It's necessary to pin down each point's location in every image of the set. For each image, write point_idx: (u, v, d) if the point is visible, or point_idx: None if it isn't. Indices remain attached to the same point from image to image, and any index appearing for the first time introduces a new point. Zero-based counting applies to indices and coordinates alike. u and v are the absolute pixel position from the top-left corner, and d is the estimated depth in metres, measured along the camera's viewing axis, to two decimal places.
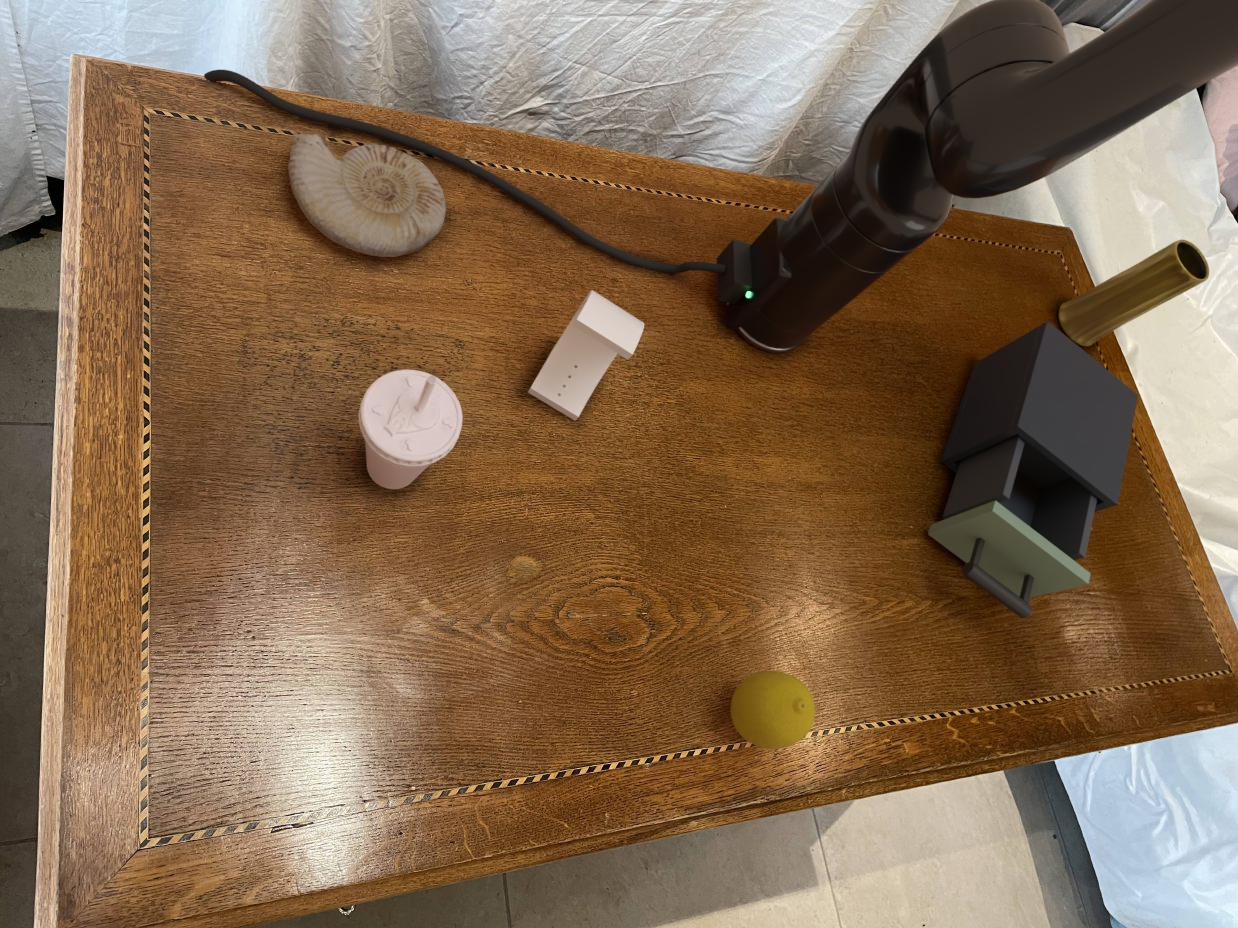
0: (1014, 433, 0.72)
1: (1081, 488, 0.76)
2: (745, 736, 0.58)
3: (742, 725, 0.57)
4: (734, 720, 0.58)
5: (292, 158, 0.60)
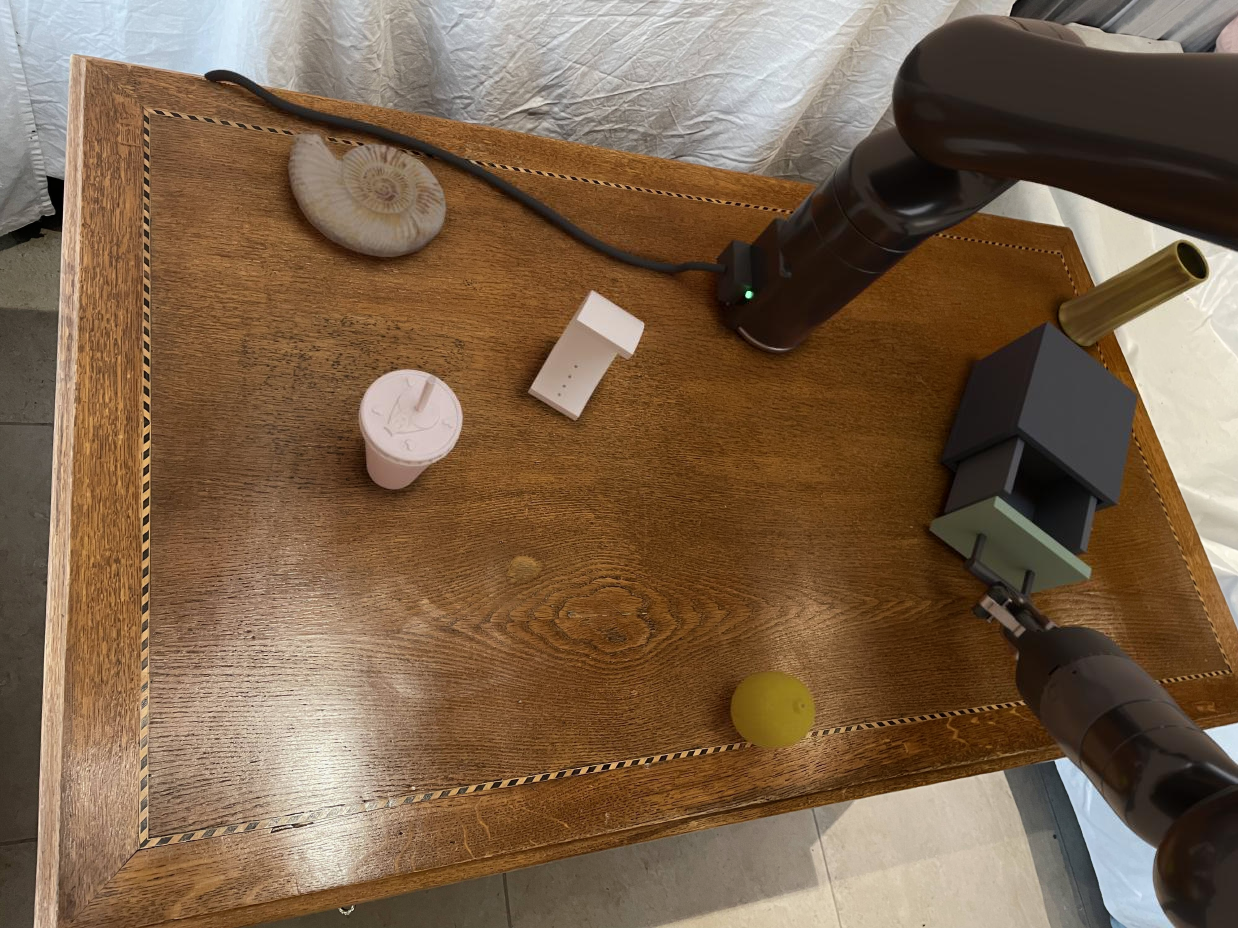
0: (1014, 433, 0.72)
1: None
2: (745, 736, 0.58)
3: (742, 724, 0.57)
4: (734, 720, 0.58)
5: (292, 158, 0.60)
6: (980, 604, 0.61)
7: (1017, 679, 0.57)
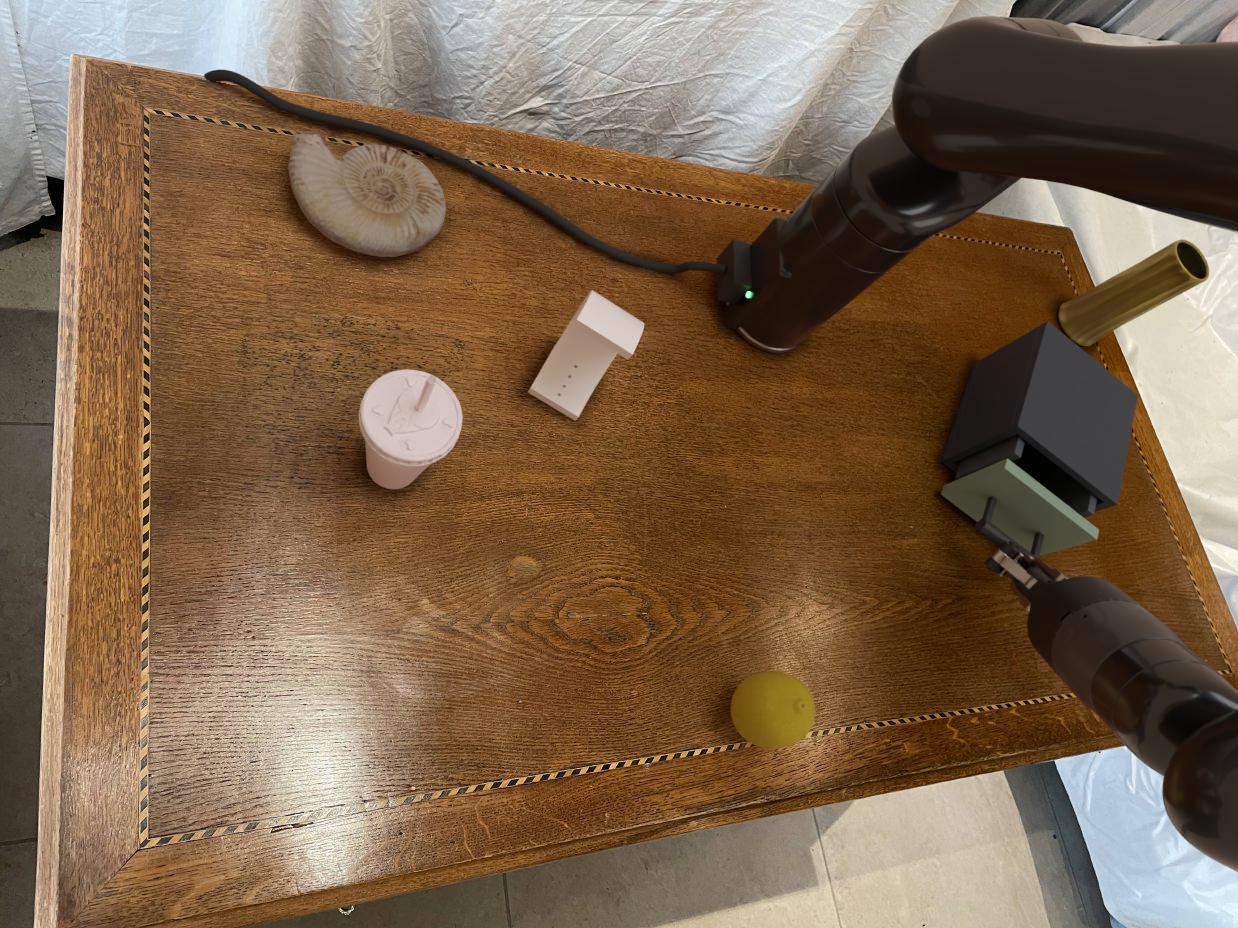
0: (1014, 433, 0.72)
1: None
2: (745, 736, 0.58)
3: (742, 725, 0.57)
4: (734, 720, 0.58)
5: (292, 158, 0.60)
6: (992, 558, 0.63)
7: (1029, 628, 0.59)
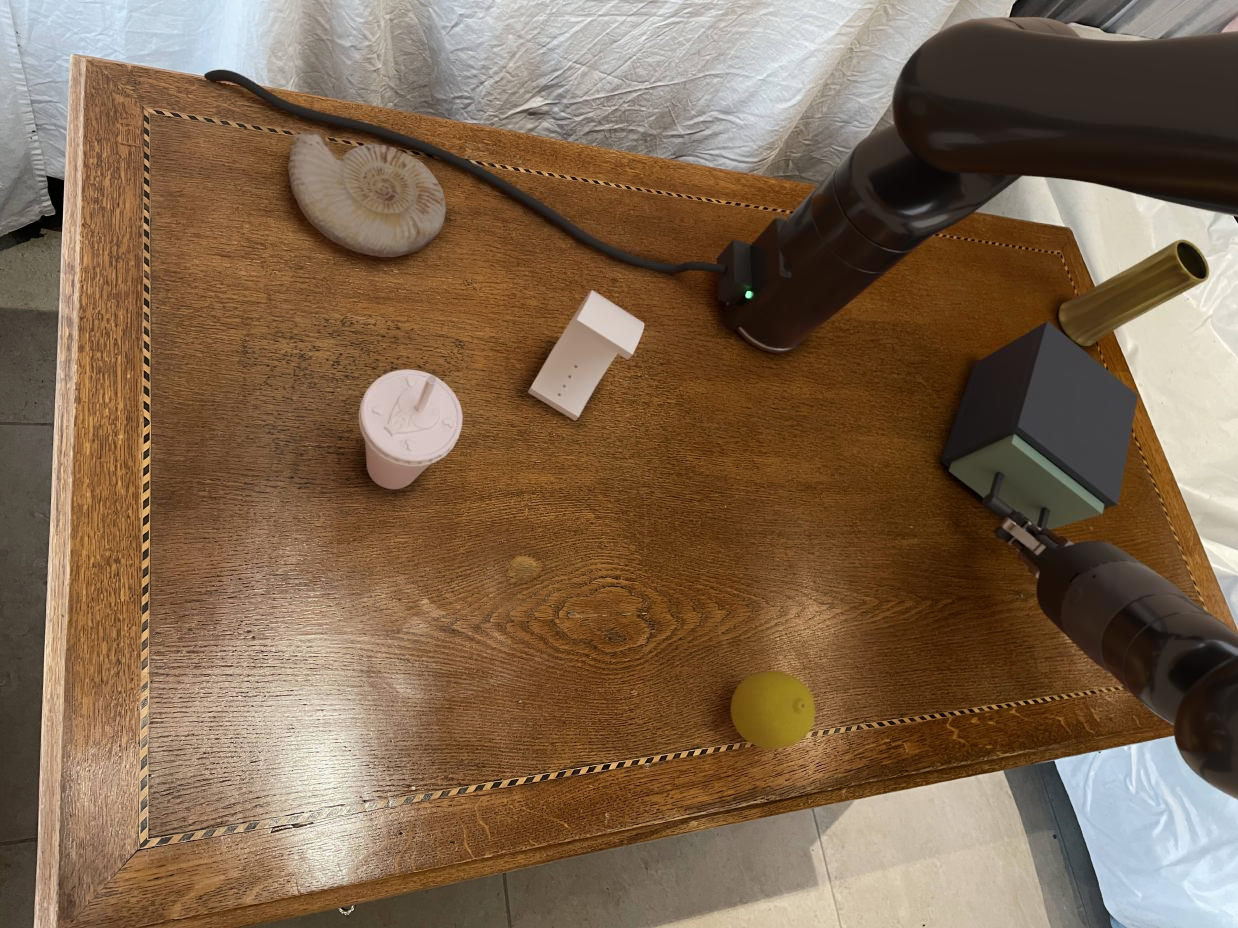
0: (1014, 433, 0.72)
1: None
2: (745, 736, 0.58)
3: (742, 725, 0.57)
4: (734, 720, 0.58)
5: (292, 158, 0.60)
6: (1001, 526, 0.64)
7: (1038, 592, 0.61)
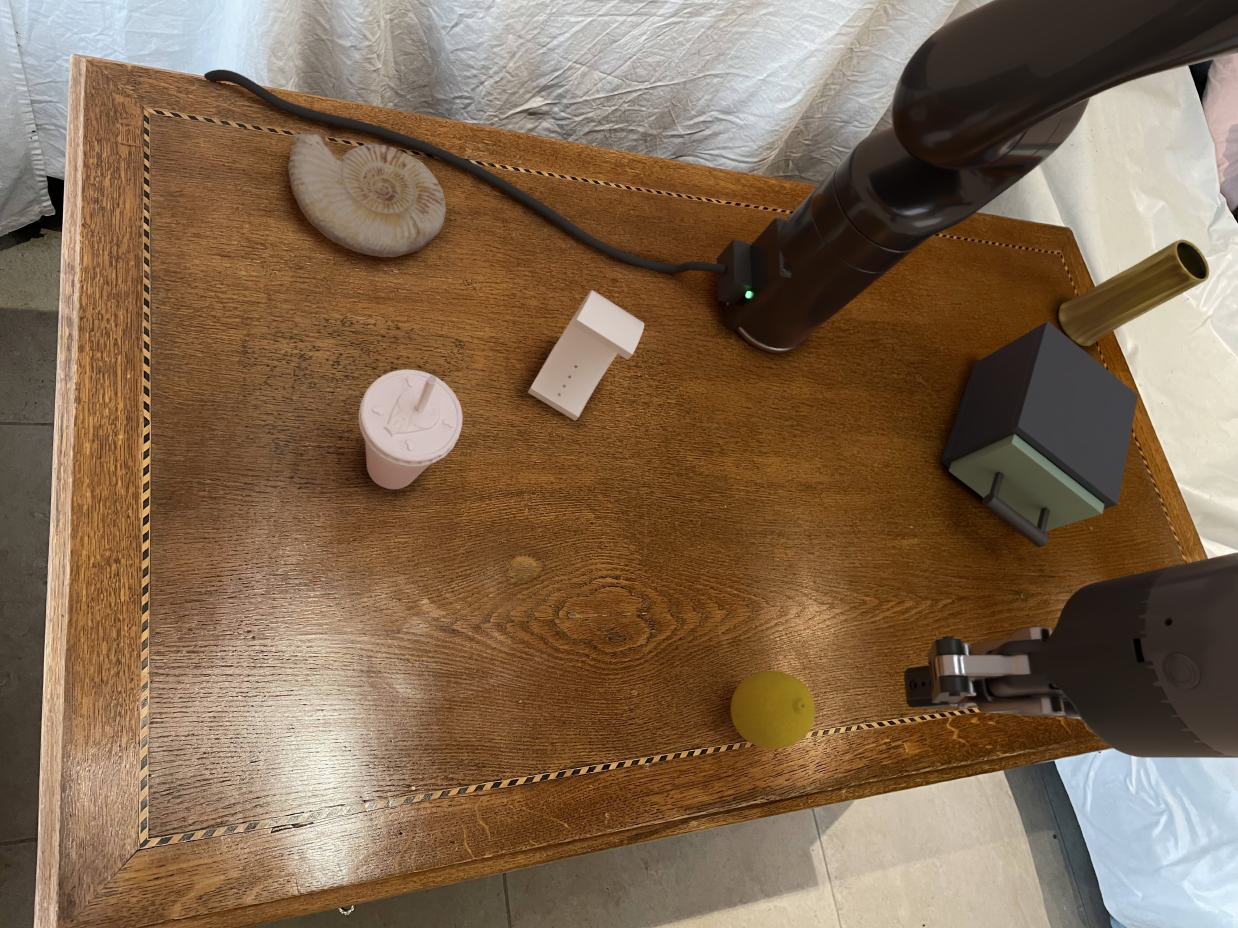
0: (1014, 433, 0.72)
1: None
2: (745, 736, 0.58)
3: (742, 724, 0.57)
4: (734, 720, 0.58)
5: (292, 158, 0.60)
6: (947, 674, 0.36)
7: (1097, 724, 0.32)
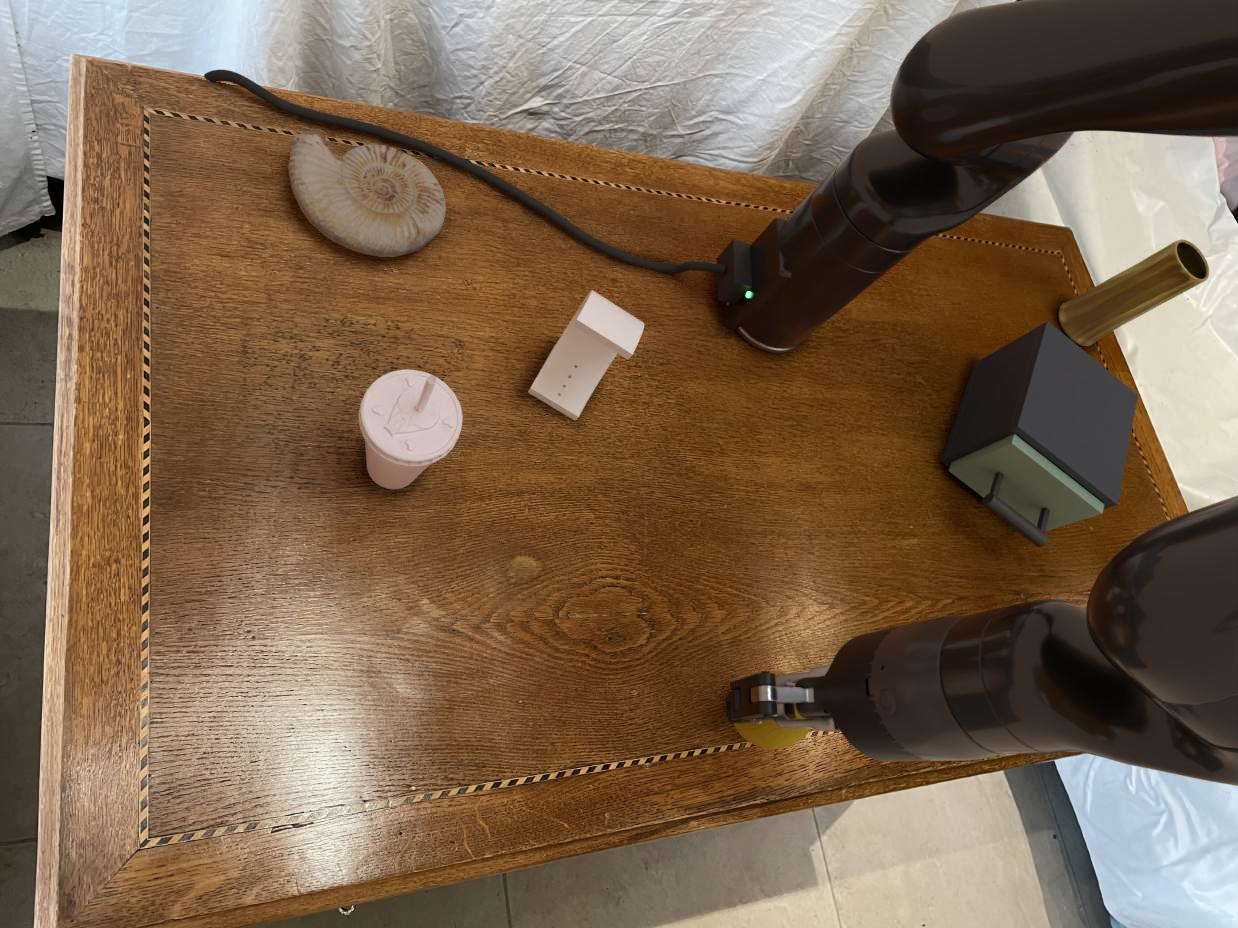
0: (1014, 433, 0.72)
1: None
2: (745, 736, 0.58)
3: (742, 724, 0.57)
4: None
5: (292, 158, 0.60)
6: (766, 700, 0.48)
7: (851, 738, 0.46)
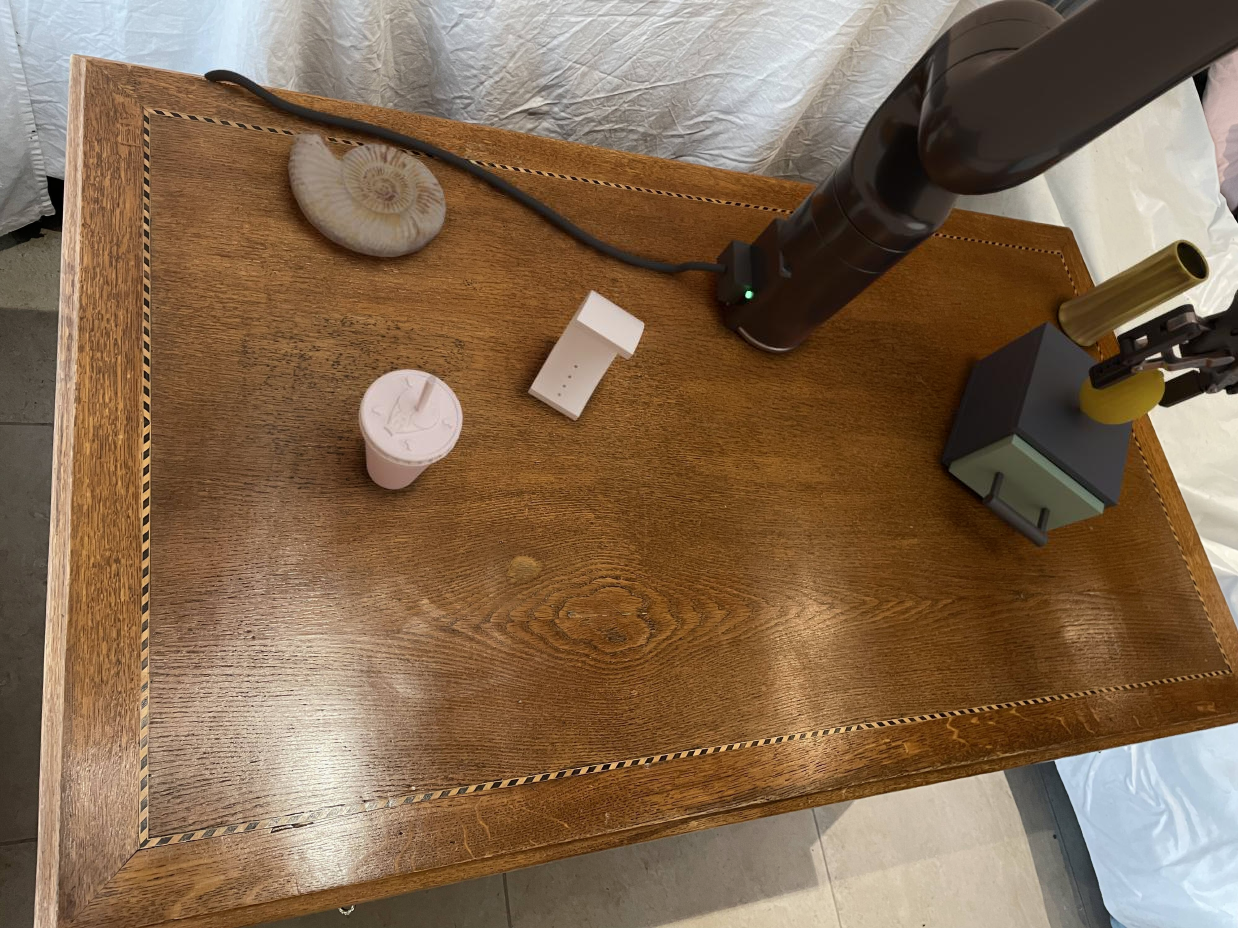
0: (1014, 433, 0.72)
1: None
2: (1102, 411, 0.72)
3: (1102, 399, 0.71)
4: (1090, 401, 0.72)
5: (292, 158, 0.60)
6: (1194, 322, 0.61)
7: None
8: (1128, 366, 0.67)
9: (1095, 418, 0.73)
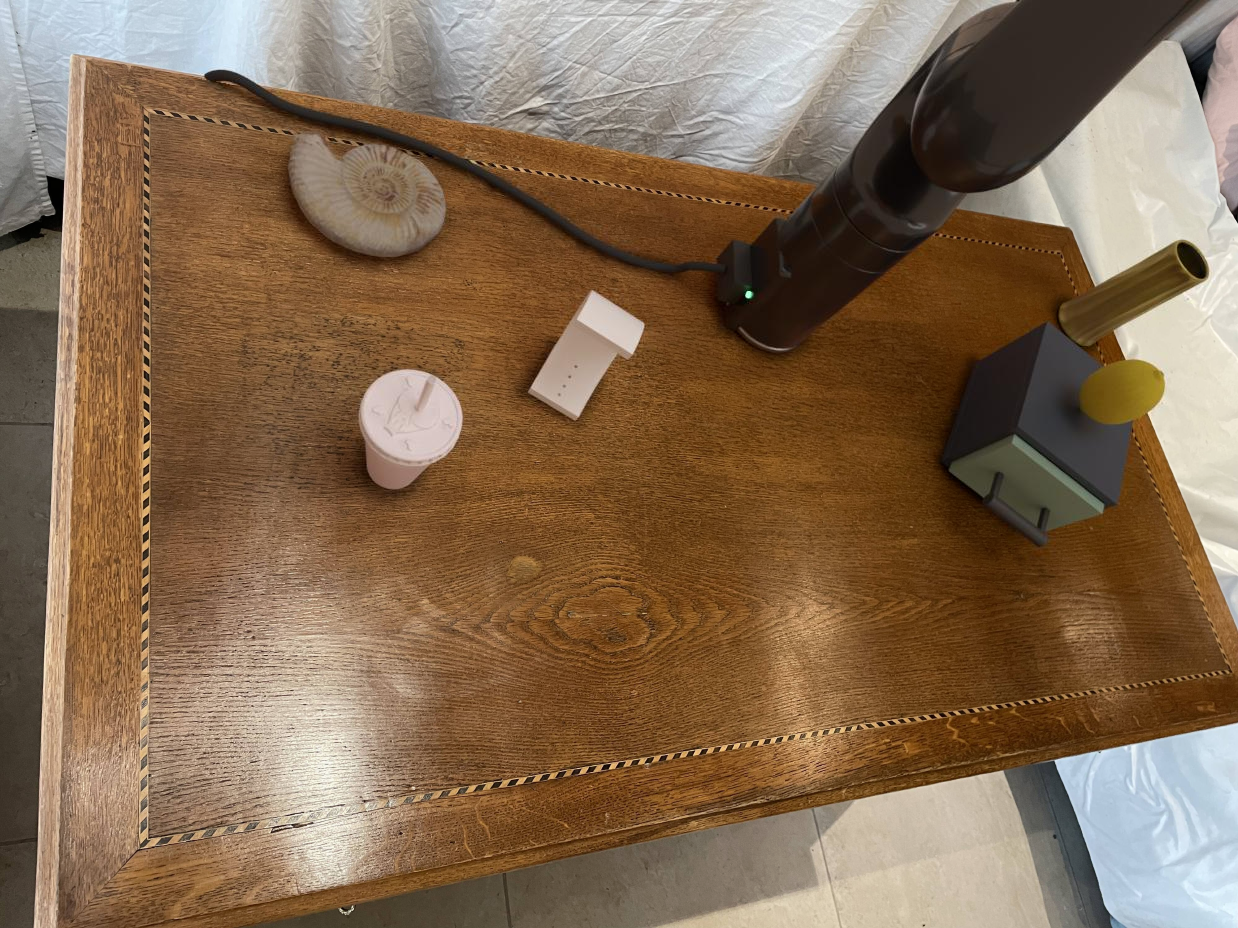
0: (1014, 433, 0.72)
1: None
2: (1102, 411, 0.72)
3: (1102, 399, 0.71)
4: (1090, 401, 0.72)
5: (292, 158, 0.60)
6: None
7: None
8: None
9: (1095, 418, 0.73)
